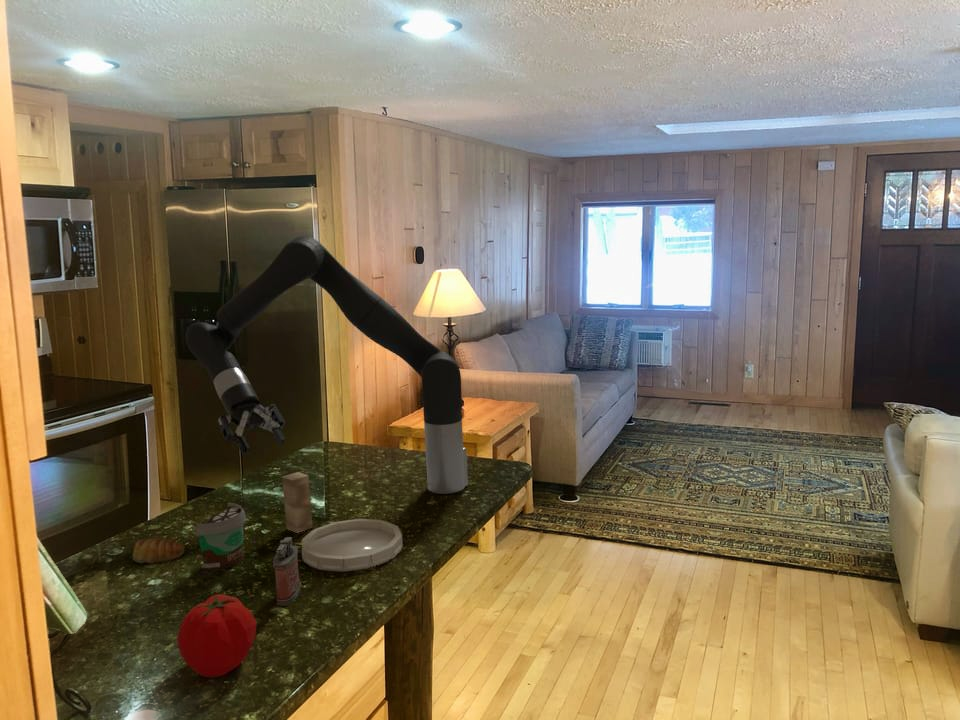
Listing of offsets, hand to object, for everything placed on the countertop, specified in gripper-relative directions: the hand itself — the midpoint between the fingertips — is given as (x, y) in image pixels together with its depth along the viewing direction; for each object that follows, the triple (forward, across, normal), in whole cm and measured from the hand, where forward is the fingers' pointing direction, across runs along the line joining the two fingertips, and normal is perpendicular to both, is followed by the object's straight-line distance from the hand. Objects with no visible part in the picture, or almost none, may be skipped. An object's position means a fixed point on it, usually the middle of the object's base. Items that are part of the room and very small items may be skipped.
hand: (265, 448), depth 171 cm
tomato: (+46, -37, -23) cm, 63 cm away
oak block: (+20, 0, +3) cm, 20 cm away
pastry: (+13, -27, +11) cm, 32 cm away
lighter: (+38, -18, -14) cm, 44 cm away
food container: (+23, -18, 0) cm, 29 cm away
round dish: (+32, +1, -10) cm, 34 cm away
